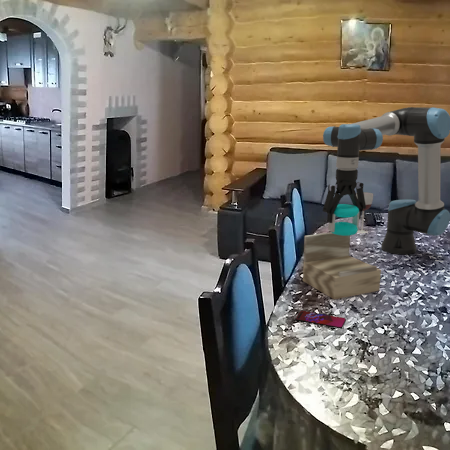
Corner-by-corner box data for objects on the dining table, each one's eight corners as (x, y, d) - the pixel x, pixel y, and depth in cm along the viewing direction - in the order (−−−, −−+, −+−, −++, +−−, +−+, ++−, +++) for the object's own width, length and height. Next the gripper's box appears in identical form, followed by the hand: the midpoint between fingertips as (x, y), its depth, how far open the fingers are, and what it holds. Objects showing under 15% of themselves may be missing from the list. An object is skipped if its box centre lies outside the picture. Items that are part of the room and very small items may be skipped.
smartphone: (342, 327, 160) (294, 319, 166) (341, 330, 161) (294, 321, 166) (346, 318, 167) (301, 310, 173) (346, 320, 167) (300, 312, 173)
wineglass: (371, 234, 265) (374, 195, 260) (353, 233, 267) (356, 194, 262) (370, 230, 273) (372, 192, 268) (353, 229, 274) (355, 191, 269)
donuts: (358, 210, 182) (329, 208, 185) (356, 237, 184) (327, 235, 187) (359, 204, 191) (332, 202, 194) (358, 230, 194) (330, 228, 197)
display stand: (302, 281, 200) (304, 235, 196) (345, 273, 209) (348, 230, 204) (334, 299, 183) (336, 250, 178) (379, 290, 191) (383, 243, 186)
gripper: (326, 172, 177) (323, 235, 182) (379, 168, 186) (374, 228, 192) (314, 169, 183) (311, 230, 189) (365, 165, 193) (361, 224, 198)
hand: (343, 229), depth 190 cm, fingers closed on donuts, 10 cm apart
